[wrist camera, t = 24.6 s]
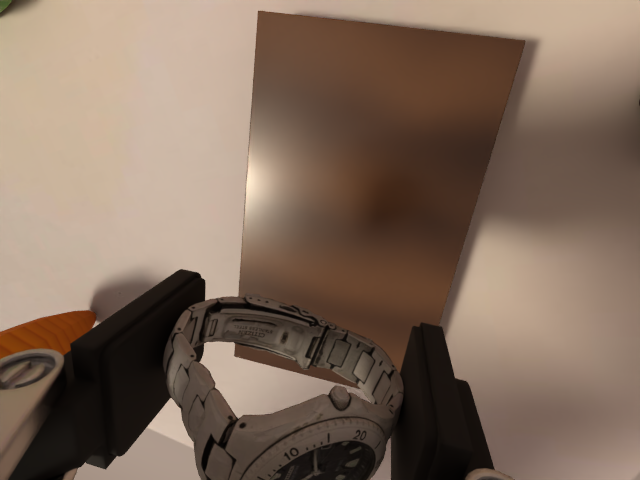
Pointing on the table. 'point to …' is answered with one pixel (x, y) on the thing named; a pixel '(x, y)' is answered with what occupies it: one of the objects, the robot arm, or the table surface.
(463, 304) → the table surface
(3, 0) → the ramekin
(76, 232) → the table surface
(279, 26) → the cutting board
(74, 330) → the carrot
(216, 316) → the wristwatch
